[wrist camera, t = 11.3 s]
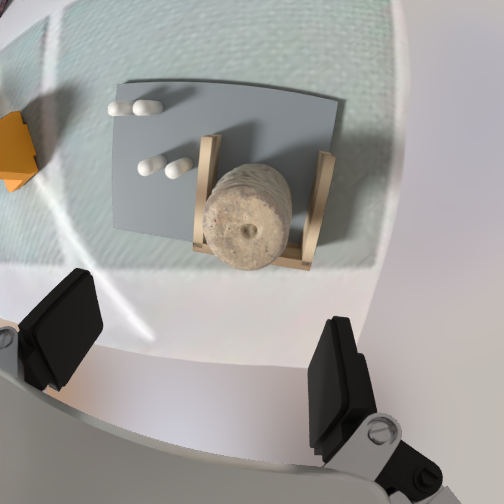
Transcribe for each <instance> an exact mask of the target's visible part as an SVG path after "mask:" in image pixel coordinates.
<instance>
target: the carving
mask: <svg viewBox="0 0 504 504" xmlns="http://www.w3.org/2000/svg"><path fill="white" fill-rule="evenodd" d="M291 221H292V197H291V192H290V188H289V185H288V183H287V181H286V180H285V178H284V177H283V176H282V174H281V173H280V172H279V171H277V170H276V169H274V168H273V167H271V166H269V165H266V164H243V165H241V166H239V167H237V168H234V169H233V170H232V171H230V172H228V173H227V174H225V175H224V176H223V177H222V178H221V179H220V180H219V181H218V183H217V185H216V186H215V188H214V189H213V190H212V194H211V195H210V196H209V198H208V200H207V201H206V203H205V205H204V208H203V211H202V228H203V232H204V235H205V238H206V241H207V243H208V245H209V247H210V249H211V250H212V252H213V253H214V254H215V255H216V256H217V257H218V258H219V259H220V260H221V261H222V262H224V263H225V264H227V265H229V266H230V267H233V268H235V269H238V270H245V271H250V270H257V269H261V268H264V267H266V266H268V265H269V264H271V263H272V262H273V261H275V260H276V259H277V258H278V257H279V256H280V255H281V254H282V252H283V251H284V249H285V248H286V245H287V241H288V236H289V230H290V224H291Z"/></svg>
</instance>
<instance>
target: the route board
mask: <svg viewBox="0 0 504 504" xmlns="http://www.w3.org/2000/svg"><path fill="white" fill-rule="evenodd" d="M337 106H338V101H334V100H329V99H325V98H320V97H315V96H311V95H305V94H300V93H295V92H289V91H283V90H276V89H269V88H262V87H254V86H245V85H234V84H221V83H204V82H143V83H126V84H117V93H116V101H112V102H111V103H110V104H109V106H108V113H109V114H110V115H111V116H114V128H113V148H112V204H113V225H114V229H120V230H126V231H132V232H138V233H143V234H149V235H155V236H161V237H167V238H173V239H179V240H184V241H190V242H193V235H194V218H195V203H196V190H197V178H198V167H199V156H200V146H201V137H202V136H206V135H211V134H215V135H222V136H221V144H220V153H219V162H218V171H217V180H216V185H217V183H218V181H219V180H220V179H221V178H222V177H223V176H224V175H225V174H227V173H228V172H230V171H232V170H233V169H234V168H237V167H239V166H241V165H243V164H266V165H269V166H271V167H273V168H274V169H276V170H277V171H279V172H280V173H281V174H282V176H283V177H284V178H285V180H286V181H287V183H288V185H289V188H290V192H291V197H292V221H291V224H290V230H289V236H288V241H287V242H292V243H298V244H300V242H301V238H302V233H303V229H304V224H305V220H306V215H307V211H308V206H309V201H310V196H311V192H312V187H313V182H314V177H315V172H316V167H317V161H318V156H319V151H323V152H328V153H329V150H330V145H331V140H332V134H333V129H334V123H335V117H336V112H337Z"/></svg>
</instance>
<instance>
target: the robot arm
mask: <svg viewBox="0 0 504 504" xmlns="http://www.w3.org/2000/svg"><path fill="white" fill-rule="evenodd" d="M18 327H19V329H20V331H19V332H18V333H17V331H16V330H15V329H14V328H13V327H10V326H6V327H2V328H0V504H461V503H460V501H459V500H458V499H457V498H456V496H455V495H454V494H453V492H452V491H451V490H450V489H449V487H448V486H446V487H443V485H442V481H443V476H442V472H441V470H440V468H439V467H438V466H437V465H436V464H435V463H434V462H432V461H431V460H429V459H428V458H426V457H425V456H424V455H422V454H420V453H419V452H418V451H416V450H415V449H414V448H412V447H411V446H409V445H408V444H406V443H405V442H404V441H402V440H401V437H402V430H401V427H400V425H399V423H398V422H397V420H396V419H394V418H393V417H392V416H390V415H388V414H385V413H377V408H376V404H375V399H374V394H373V389H372V385H371V381H370V377H369V372H368V368H367V364H366V360H365V357H364V355H363V354H362V353H358V352H357V347H356V343H355V339H354V335H353V331H352V327H351V323H350V320H349V318H347V317H339V316H333V318H332V320H331V319H328V320H327V321H326V324H325V327H324V329H323V332H322V335H321V337H320V340H319V342H318V345H317V347H316V350H315V352H314V355H313V357H312V360H311V362H310V365H309V368H308V395H309V432H310V435H309V437H310V447H311V448H314V455H322V459H323V462H324V463H325V464H324V465H323V466H322V467H317V466H305V465H295V464H283V463H273V462H263V461H255V460H249V459H241V458H235V457H228V456H223V455H218V454H213V453H208V452H202V451H198V450H193V449H190V448H185V447H181V446H178V445H174V444H170V443H166V442H163V441H159V440H156V439H153V438H150V437H146V436H143V435H140V434H137V433H134V432H131V431H128V430H126V429H123V428H120V427H117V426H115V425H112V424H109V423H107V422H105V421H102V420H100V419H97V418H95V417H93V416H91V415H88V414H86V413H84V412H81V411H79V410H77V409H75V408H73V407H70V406H69V405H67V404H64V403H63V402H61V401H59V400H57V399H55V398H53V397H51V396H49V395H47V392H46V387H47V385H49V387H51V388H53V389H55V390H57V391H60V389H61V388H62V386H63V387H64V386H66V384H67V383H68V381H69V380H70V378H71V376H72V375H73V373H74V372H75V370H76V369H77V367H78V366H79V364H80V363H81V361H82V360H83V358H84V357H85V355H86V354H87V352H88V351H89V349H90V348H91V346H92V345H93V344H94V342H95V341H96V339H97V338H98V336H99V335H100V333H101V332H102V330H103V321H102V317H101V313H100V309H99V304H98V300H97V295H96V290H95V285H94V280H93V276H92V275H91V274H90V272H89V271H88V270H84V269H80V268H76V269H74V270H73V271H72V272H71V273H70V274H69V275H68V276H67V277H65V278H64V279H63V280H62V281H61V282H60V283H59V284H58V285H57V286H56V287H55V288H54V289H53V290H52V291H51V292H50V293H49V294H48V295H47V296H46V297H45V298H44V299H43V300H42V301H41V302H40V303H39V304H38V305H37V306H36V307H35V308H34V309H33V310H32V311H31V312H30V313H29V314H28V315H27V316H26V317H25V318H24V319H23V320H22V322H21V323H20V324H19V325H18Z"/></svg>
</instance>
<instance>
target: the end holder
mask: <svg viewBox="0 0 504 504" xmlns="http://www.w3.org/2000/svg"><path fill="white" fill-rule="evenodd" d="M221 136H222V135H215V134H211V135H206V136H202V137H201V146H200V156H199V167H198V178H197V190H196V203H195V218H194V235H193V251H196V252H202V253H207V254H213V255H215V254H214V253H213V252H212V250H211V249H210V247H209V245H208V243H207V241H206V238H205V235H204V232H203V228H202V211H203V208H204V205H205V203H206V201H207V200H208V198H209V196H210V195H211V194H212V190H213V189H214V188H215V186H216V180H217V171H218V162H219V153H220V144H221ZM335 160H336V157H334V156H333V155H332V154H330V153H328V152H323V151H319V156H318V161H317V167H316V172H315V177H314V182H313V187H312V192H311V196H310V201H309V206H308V211H307V215H306V220H305V224H304V229H303V233H302V238H301V242H300V244H298V243H292V242H287V245H286V248H285V249H284V251H283V252H282V254H281V255H280V256H279V257H278V258H277V259H276V260H275V261H273V262H272V263H271V265H277V266H283V267H289V268H295V269H301V270H307V271H310V267H311V263H312V259H313V256H314V252H315V248H316V244H317V240H318V236H319V232H320V228H321V224H322V219H323V215H324V211H325V207H326V202H327V198H328V193H329V189H330V184H331V180H332V175H333V170H334V165H335Z"/></svg>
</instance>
